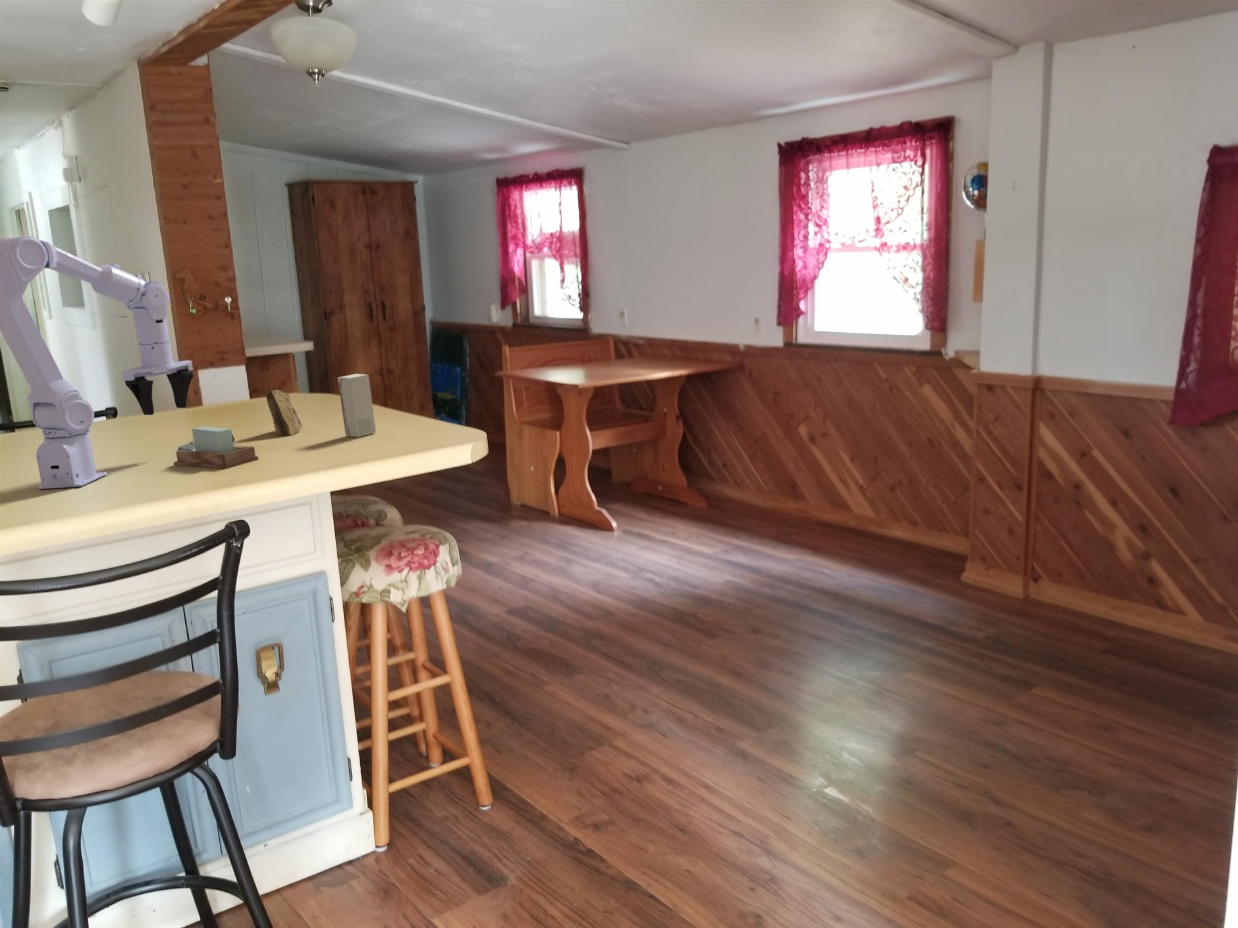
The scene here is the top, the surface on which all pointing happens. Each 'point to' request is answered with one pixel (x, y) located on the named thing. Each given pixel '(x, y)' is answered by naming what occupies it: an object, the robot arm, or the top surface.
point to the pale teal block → (213, 439)
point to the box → (356, 405)
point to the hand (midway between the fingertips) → (165, 411)
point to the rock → (283, 413)
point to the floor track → (216, 458)
